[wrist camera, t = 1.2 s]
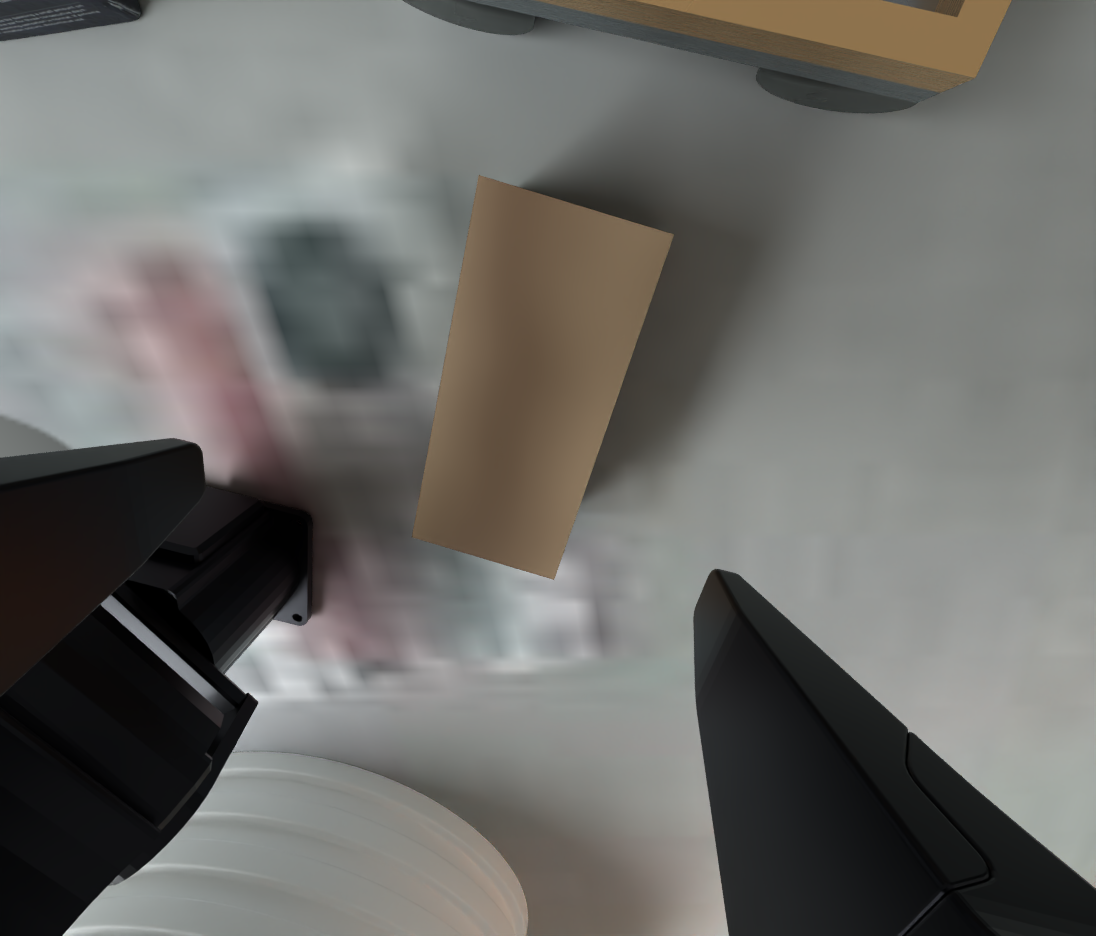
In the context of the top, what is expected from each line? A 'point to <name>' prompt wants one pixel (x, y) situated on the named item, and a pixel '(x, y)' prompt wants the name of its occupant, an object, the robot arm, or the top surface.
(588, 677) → the top surface
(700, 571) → the top surface
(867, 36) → the wooden frame tray
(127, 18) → the small box
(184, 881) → the plate stack
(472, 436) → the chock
